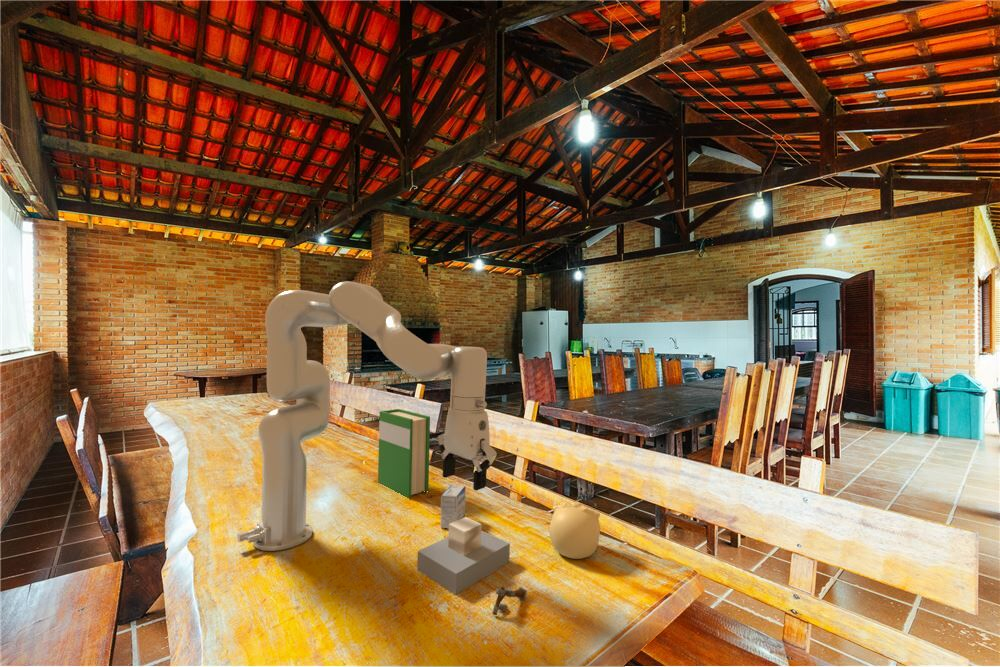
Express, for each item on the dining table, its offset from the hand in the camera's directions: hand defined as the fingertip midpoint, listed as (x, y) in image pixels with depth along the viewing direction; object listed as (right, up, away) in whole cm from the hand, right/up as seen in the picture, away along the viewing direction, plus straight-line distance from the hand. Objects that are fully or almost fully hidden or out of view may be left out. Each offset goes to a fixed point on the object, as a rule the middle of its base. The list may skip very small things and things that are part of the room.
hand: (463, 482), depth 89 cm
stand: (0, -18, 0) cm, 18 cm away
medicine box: (-5, -18, +20) cm, 27 cm away
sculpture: (+25, -19, +7) cm, 32 cm away
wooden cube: (0, -14, 0) cm, 14 cm away
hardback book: (-24, -18, +44) cm, 53 cm away
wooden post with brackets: (+10, -19, -13) cm, 25 cm away
